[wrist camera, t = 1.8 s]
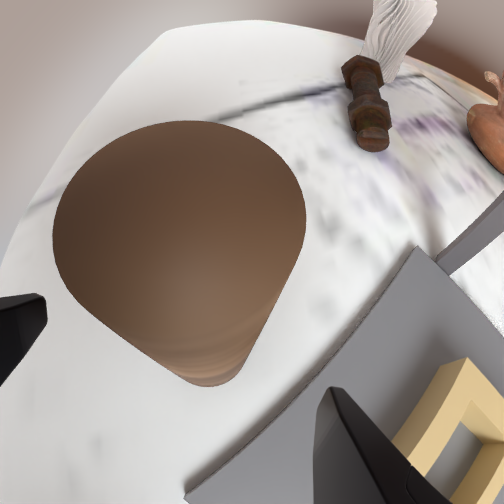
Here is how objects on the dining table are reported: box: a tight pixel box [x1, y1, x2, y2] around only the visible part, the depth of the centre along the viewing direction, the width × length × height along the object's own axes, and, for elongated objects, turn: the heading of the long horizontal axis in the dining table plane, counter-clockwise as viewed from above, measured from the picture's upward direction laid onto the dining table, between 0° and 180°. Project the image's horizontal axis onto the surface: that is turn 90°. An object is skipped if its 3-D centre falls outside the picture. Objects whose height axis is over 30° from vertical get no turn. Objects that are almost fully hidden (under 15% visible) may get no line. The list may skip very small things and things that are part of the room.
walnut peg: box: [52, 121, 306, 387], centre depth 11 cm, size 5×5×14 cm
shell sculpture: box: [360, 0, 437, 83], centre depth 29 cm, size 8×8×18 cm
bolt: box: [341, 55, 392, 152], centre depth 29 cm, size 6×5×15 cm
